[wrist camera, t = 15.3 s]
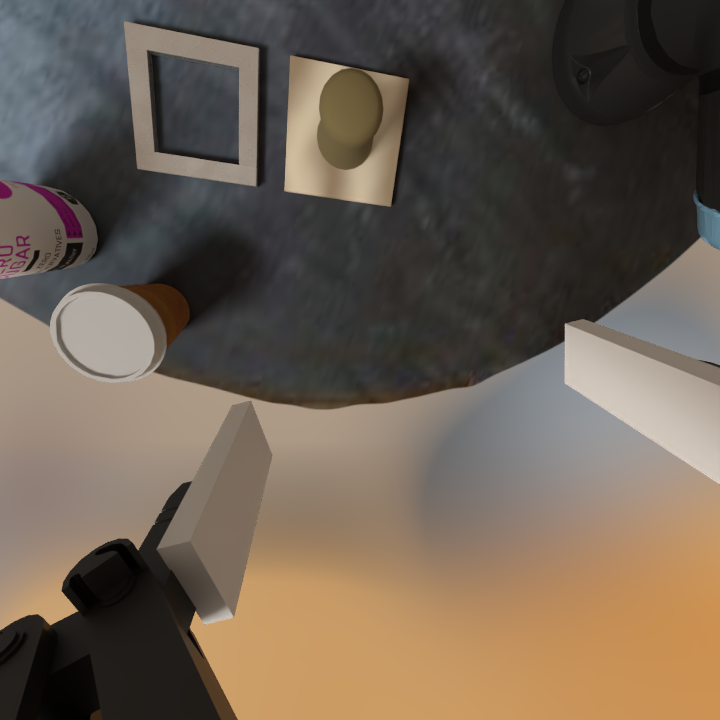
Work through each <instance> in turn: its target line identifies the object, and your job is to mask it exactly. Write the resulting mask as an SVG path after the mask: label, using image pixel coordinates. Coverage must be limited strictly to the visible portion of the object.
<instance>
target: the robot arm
mask: <svg viewBox="0 0 720 720" xmlns="http://www.w3.org/2000/svg"><path fill="white" fill-rule="evenodd" d="M553 71H554V77H555V81H556V85H557V88H558V91H559V93H560V95H561V97H562V99H563V101H564V102H565V104H566V105H567V107H568V108H569V109H570V110H571V111H572V112H573V113H574V114H575V115H576V116H577V117H579V118H580V119H582V120H584V121H586V122H588V123H591V124H595V125H615V124H619V123H622V122H625V121H628V120H631V119H634V118H636V117H639V116H641V115H644V114H646V113H648V112H650V111H651V110H653V109H655V108H656V107H658V106H659V105H661V104H662V103H663V102H664V101H666V100H667V99H668V98H669V97H670V96H672V95H673V94H674V93H675V92H676V91H677V90H678V89H680V88H681V87H682V86H684V85H685V84H686V83H688V82H689V81H690V80H692V79H693V78H694V77H696V76H697V75H698V74H699V110H698V140H697V170H696V189H695V191H694V193H693V199H694V202H695V204H696V205H697V224H698V232H699V234H700V236H701V238H702V239H703V240H705V241H706V242H707V243H709V244H711V246H713V247H714V248H716V249H719V250H720V0H566V1H565V3H564V6H563V8H562V10H561V13H560V16H559V19H558V23H557V26H556V31H555V36H554V42H553ZM565 384H567V385H569V386H570V387H571V388H573V389H574V390H576V391H578V392H579V393H581V394H582V395H584V396H585V397H587V398H588V399H590V400H591V401H593V402H594V403H596V404H597V405H599V406H600V407H602V408H604V409H605V410H607V411H608V412H610V413H611V414H613V415H614V416H616V417H617V418H619V419H620V420H622V421H624V422H625V423H627V424H628V425H630V426H631V427H633V428H634V429H636V430H637V431H639V432H641V433H642V434H643V435H645V436H646V437H648V438H650V439H651V440H653V441H654V442H656V443H657V444H659V445H660V446H662V447H664V448H665V449H666V450H668V451H669V452H671V453H673V454H674V455H676V456H677V457H679V458H680V459H682V460H683V461H685V462H686V463H688V464H689V465H691V466H692V467H694V468H695V469H697V470H698V471H700V472H702V473H703V474H705V475H706V476H708V477H709V478H711V479H712V480H714V481H715V482H717V483H718V484H720V365H717V364H714V363H711V362H707V361H701V360H696V359H693V358H690V357H687V356H685V355H682V354H679V353H677V352H674V351H671V350H668V349H665V348H663V347H659V346H656V345H654V344H651V343H649V342H646V341H643V340H640V339H637V338H635V337H631V336H629V335H626V334H623V333H620V332H617V331H615V330H612V329H609V328H606V327H604V326H601V325H598V324H595V323H593V322H590V321H587V320H584V319H582V320H578V321H574V322H570V323H566V324H565ZM271 458H272V453H271V451H270V448H269V445H268V443H267V441H266V438H265V435H264V433H263V431H262V428H261V425H260V423H259V420H258V418H257V415H256V413H255V410H254V408H253V405H252V403H251V401H248V402H244V403H240V404H236V405H232V407H231V409H230V411H229V413H228V415H227V417H226V418H225V421H224V422H223V424H222V426H221V428H220V430H219V432H218V434H217V435H216V437H215V439H214V441H213V443H212V445H211V447H210V449H209V451H208V453H207V455H206V456H205V458H204V460H203V462H202V464H201V466H200V468H199V470H198V472H197V474H196V475H195V477H194V479H193V481H191V482H187V483H183V484H182V485H181V486H180V487H179V488H178V489H177V490H176V491H175V492H174V493H173V494H172V495H171V496H170V497H169V499H168V500H167V502H166V504H165V506H164V507H163V509H162V513H160V514H159V516H158V518H157V519H156V521H155V525H153V526H152V528H151V529H150V531H149V533H148V535H147V536H146V538H145V540H144V542H143V543H142V545H141V547H140V548H139V550H137V549H136V547H135V546H134V544H133V543H132V542H131V541H130V540H129V539H117V540H114V541H110V542H107V543H105V544H104V545H102V546H100V547H98V548H96V549H95V550H93V551H92V552H90V553H89V554H88V555H87V556H85V557H84V558H83V559H81V560H80V561H79V562H78V564H77V565H76V566H75V567H74V568H73V569H72V570H71V571H70V572H69V574H68V575H67V577H66V579H65V580H64V582H63V586H62V592H63V593H64V594H65V596H66V597H67V598H68V599H69V600H70V601H71V603H72V604H73V605H74V606H75V607H76V609H77V610H78V612H76V613H74V614H72V615H70V616H68V617H66V618H64V619H62V620H60V621H58V622H56V623H54V624H52V625H49V624H48V623H47V622H46V621H45V619H44V618H42V617H41V616H39V615H38V614H36V615H28V616H26V617H23V618H21V619H19V620H17V621H14V622H13V623H11V624H10V625H8V626H7V627H5V628H4V629H2V630H0V720H238V719H237V717H236V716H235V713H234V712H233V710H232V708H231V706H230V704H229V702H228V700H227V698H226V696H225V694H224V692H223V690H222V688H221V686H220V684H219V682H218V680H217V679H216V676H215V674H214V672H213V671H212V669H211V667H210V665H209V663H208V661H207V659H206V657H205V655H204V653H203V651H202V649H201V647H200V645H199V643H198V641H197V639H196V637H195V635H194V634H193V632H192V631H191V629H190V625H191V622H192V619H193V616H194V613H195V610H196V612H197V614H198V615H199V617H200V618H201V620H202V621H203V623H204V625H205V624H209V623H213V622H217V621H221V620H225V619H229V618H233V617H234V615H235V611H236V606H237V602H238V598H239V593H240V590H241V585H242V581H243V577H244V572H245V569H246V564H247V560H248V556H249V552H250V547H251V543H252V539H253V535H254V530H255V526H256V522H257V518H258V513H259V509H260V505H261V501H262V497H263V492H264V488H265V484H266V480H267V475H268V471H269V467H270V463H271Z"/></svg>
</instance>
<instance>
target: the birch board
mask: <svg viewBox="0 0 720 720" xmlns="http://www.w3.org/2000/svg"><path fill="white" fill-rule="evenodd" d="M347 68H351V67H346V66H341V65H336V64H331V63H326V62H321V61H316V60H311V59H306V58H301V57H296V56H291V55H290V77H289V100H288V123H287V146H286V168H285V191H286V192H293V193H300V194H307V195H313V196H320V197H327V198H334V199H341V200H347V201H354V202H361V203H368V204H375V205H381V206H388V207H390V206H391V202H392V195H393V188H394V181H395V174H396V167H397V161H398V154H399V147H400V140H401V133H402V126H403V119H404V112H405V105H406V98H407V92H408V85H409V79H406V78H401V77H396V76H391V75H386V74H381V73H376V72H371V71H366V70H362V71H364V72H365V73H367V74H368V75H370V76H371V77H372V79H373V80H374V81H375V83H376V84H377V85H378V88H379V90H380V93H381V95H382V101H383V109H384V110H383V117H382V122H381V124H380V127H379V129H378V131H377V133H376V134H375V135H374V138H373V145H372V150H371V152H370V154H369V156H368V158H367V159H366V160H365V161H364V163H363V164H361V165H360V166H358V167H356V168H355V169H349V170H343V169H338V168H336V167H334V166H332V165H330V164H329V163H328V162H327V161H326V160H325V158H324V157H323V156H322V154H321V152H320V150H319V147H318V142H317V129H318V125H319V122H320V120H321V118H320V112H319V103H320V95H321V92H322V90H323V87H324V85H325V84H326V82H327V81H328V80H329V79H330V77H331V76H332V75H333V74H335V73H337V72H338V71H340V70H341V69H347ZM355 69H356V68H355ZM359 70H361V69H359Z"/></svg>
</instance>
